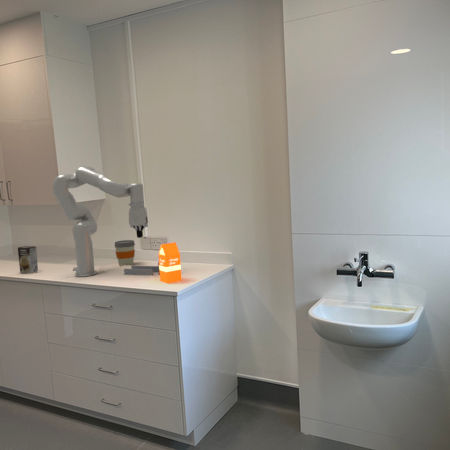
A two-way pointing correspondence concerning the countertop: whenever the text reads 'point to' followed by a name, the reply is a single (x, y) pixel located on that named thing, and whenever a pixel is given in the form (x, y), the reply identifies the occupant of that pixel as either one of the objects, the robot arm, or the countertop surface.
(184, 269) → the countertop surface
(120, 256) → the reusable coffee cup
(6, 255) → the countertop surface
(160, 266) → the orange juice
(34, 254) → the coffee box
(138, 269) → the chute
